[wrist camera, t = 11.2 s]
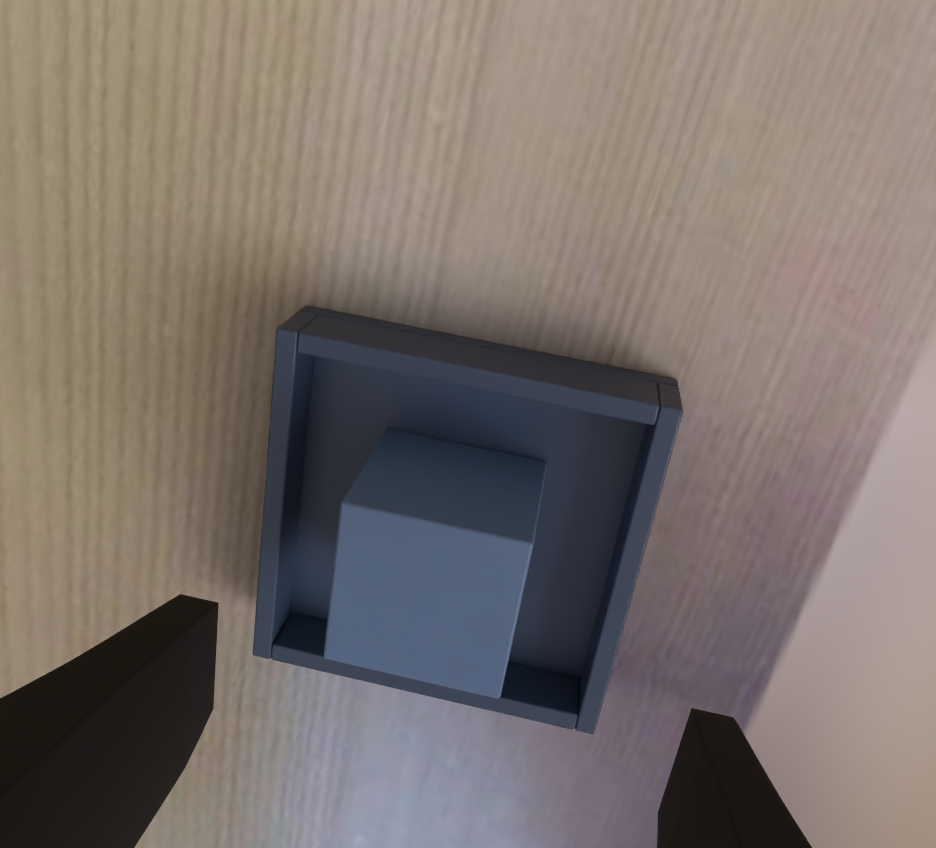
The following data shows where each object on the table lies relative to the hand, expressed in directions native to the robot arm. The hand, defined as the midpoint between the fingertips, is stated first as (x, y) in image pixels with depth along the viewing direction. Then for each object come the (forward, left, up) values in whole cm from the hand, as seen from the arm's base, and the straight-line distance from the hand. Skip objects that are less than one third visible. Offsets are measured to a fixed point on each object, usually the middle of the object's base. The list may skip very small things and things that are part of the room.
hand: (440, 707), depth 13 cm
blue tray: (+1, +2, -10) cm, 10 cm away
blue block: (+1, +2, -9) cm, 9 cm away
